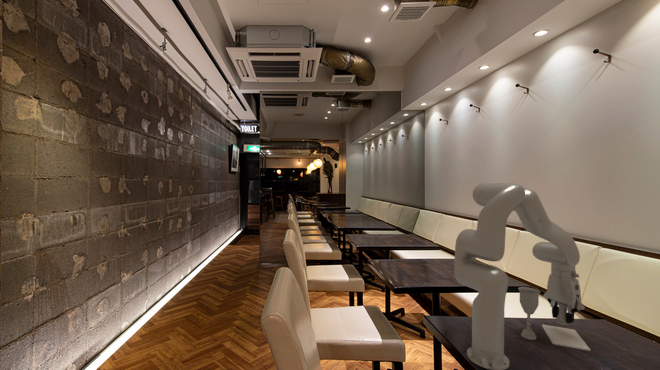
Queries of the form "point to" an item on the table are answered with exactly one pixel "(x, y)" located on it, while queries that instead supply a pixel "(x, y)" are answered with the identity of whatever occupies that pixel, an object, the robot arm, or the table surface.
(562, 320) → the rook chess piece
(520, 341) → the table surface
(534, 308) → the chalice
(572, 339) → the grey mat
